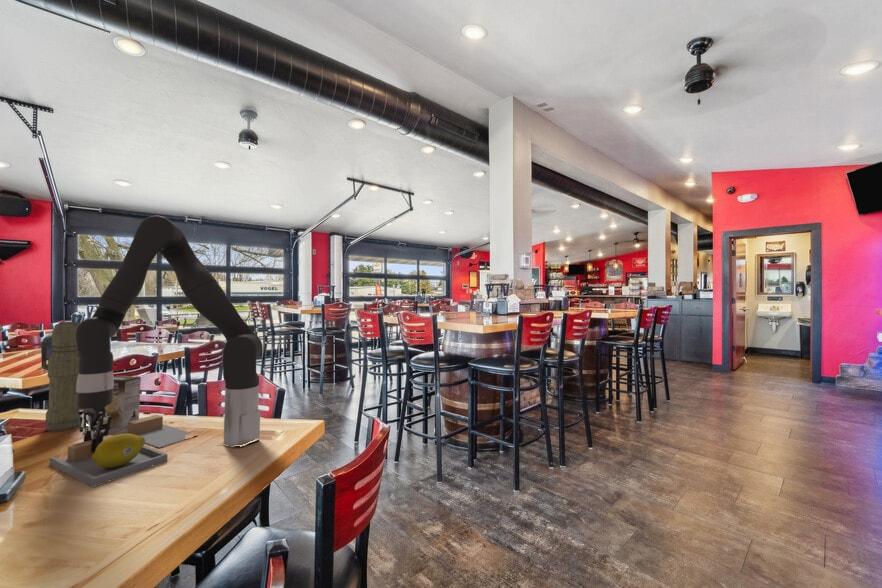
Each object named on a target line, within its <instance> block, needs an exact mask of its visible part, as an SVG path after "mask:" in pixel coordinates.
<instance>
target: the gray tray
mask: <svg viewBox="0 0 882 588" xmlns="http://www.w3.org/2000/svg"><path fill="white" fill-rule="evenodd" d="M112 436H113V435H112V434H108V435H107V436H104V437H103V441H104V440H105V439H107V438H109V437H112ZM91 443H92V440H89V441H85V442H84V441H82V442H78V443H74V444H70V445H67V458H64V459H61V458H58V457H56V456H51V457H49V465H50V466H52V467H53V468H56V469H57V470H60V471H62V472H63V473H65V474H67V475H69V476H70V477H73V478H75V479H77V480H78V481H79V482H80V481H81V482H82V483H84V482H85V483H84V484H86V483H87V484H86V485H88V484H89V485H88V486H90V485H91V486H94V487H96V486H95V485H97V486H99V485H98V484H100V485H102V484H101V483H103V484H105V483H104V482H106V483H108V482H107V481H109V480H111V481H114V480H117V479H120V478H122V477H125V476H128V475H131V474H134V473H137V472H139V470H140V471H142V469H143V470H145V469H144V468H146V469H148V468H151V467H153V466H152V465H154V466H156V464H157V465H159V463H160V464H162V462H163V463H165V462H167V461H168V453H165V452H162V451H160V450H158V449H154V448H153V447H149V446H146V445H145V444H144V445H143V447H142V448H141V450H140V452H139V453H138V455H137V456H136V457H135V458H134V459H132V460H131V461H130V462H128V463H126V464H124V465H122V466H120V467H116V468H111V469H106V468H101V467H99V466H98V465H97V464H96V462H95V461H94V460H92V458H91V457H92V455H93V454H94V453H93V452H91ZM150 466H151V467H150ZM147 467H148V468H147ZM113 479H114V480H113ZM109 482H110V481H109ZM91 486H90V487H91Z"/></svg>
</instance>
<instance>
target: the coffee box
mask: <svg viewBox="0 0 882 588" xmlns="http://www.w3.org/2000/svg"><path fill="white" fill-rule="evenodd" d="M113 376H114V375H113ZM140 397H141V376H133V375H115V376H114V386H113V402H112V403H111V404H109V405H106V406H105V410H106V413H107V416H111V417H112V418H111V423H110V428H122V429H123V428H126V427H128V421H133V420H137V419H140V418H139V417H140V401H141V400H140Z"/></svg>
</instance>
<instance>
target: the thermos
mask: <svg viewBox="0 0 882 588" xmlns="http://www.w3.org/2000/svg"><path fill="white" fill-rule="evenodd" d="M80 323H81V322H77V321H76V322H75V321H73V322H72V321H71V322H68V321H67V322H66V321H65V322H58V323H55V325H54V327H53V329H52V331H51V336H49V337H46V338H45V339H44V340H42V342H41V368H43V370H46V371H47V377H48V379H49V382H48V383H49V384H48V388H49V389H48V407H47V410H46V413H45V423H46V428H45V431H46V430H47V431H46V432H50V431H55V432H63V431H69V430H72V429H73V430H74V429H76V428H79V421H78V411H82V410H83V409H81V408H77V407H76V385H77V378H78V374H79V373H78V369H79V353H78V349H77V344H76V330H77V327H78V325H79V324H80ZM49 341H51V343H50V344H51V345H50V347H51V351H50V356H49V358H48V357H47V356H48V342H49Z"/></svg>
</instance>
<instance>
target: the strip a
mask: <svg viewBox="0 0 882 588" xmlns="http://www.w3.org/2000/svg"><path fill="white" fill-rule="evenodd" d="M163 420H164V417H163V416H162V415H158V414H155V415H149V416H145V417H141V418H139V419H137V420H133V421H128V426H127V432H123V433H121V434H134V435H137V436H142V437H144V438H145V443H144V445H145V444H146V445H148V444H149V446H151V445H152V446H151V447H154V446H155V447H154V448H156V447H158V448H157V449H161V447H162V448H165V447H167V445H168V446H171V445H174V444H177V443H176V442H178V443H180V442H179V441H181V440H184V439H185V435H187V433H188V435H189V433H191V432H189V431H187V430H183V429H179V428H177V427H173V426H170V425H167V424H164V422H163ZM163 424H164V425H163ZM184 441H185V440H184ZM181 442H182V441H181ZM173 443H174V444H173ZM170 444H171V445H170ZM164 446H165V447H164Z"/></svg>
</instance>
